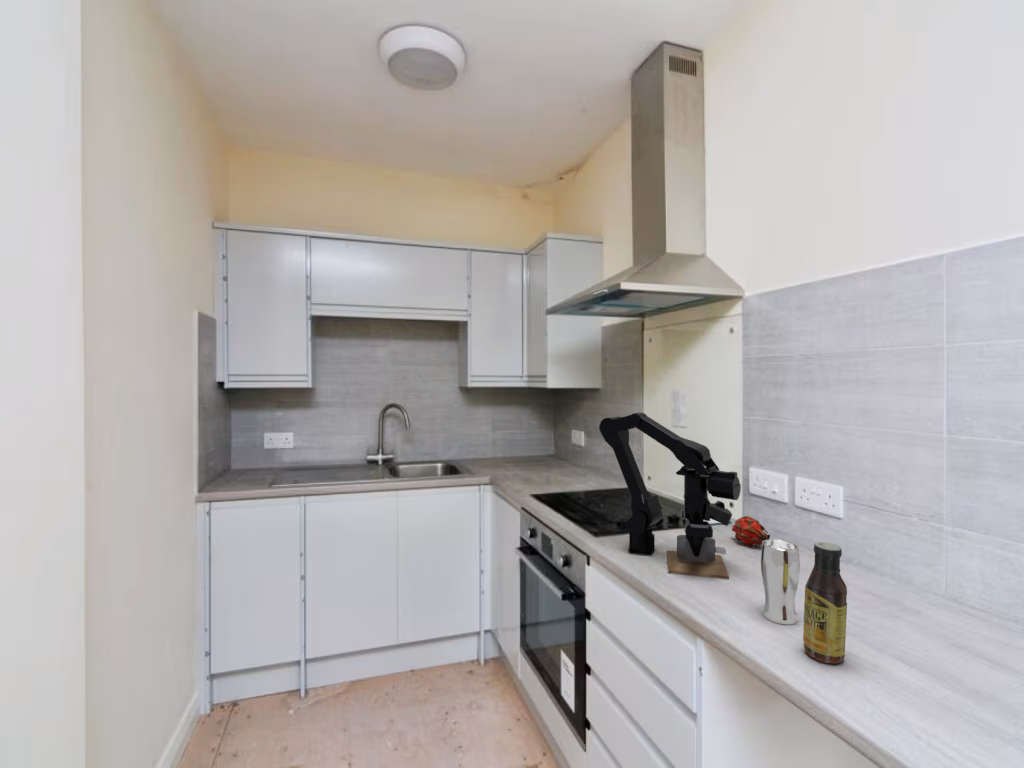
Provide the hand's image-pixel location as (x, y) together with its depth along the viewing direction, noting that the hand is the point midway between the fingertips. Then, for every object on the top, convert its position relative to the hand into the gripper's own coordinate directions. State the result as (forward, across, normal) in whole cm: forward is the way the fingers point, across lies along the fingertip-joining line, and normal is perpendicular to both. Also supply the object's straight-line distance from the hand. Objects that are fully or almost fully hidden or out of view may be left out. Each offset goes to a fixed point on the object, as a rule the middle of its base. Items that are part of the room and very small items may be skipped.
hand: (695, 553), depth 125 cm
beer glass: (+3, -24, -14) cm, 28 cm away
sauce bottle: (+3, -37, -18) cm, 41 cm away
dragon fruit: (+4, +21, -17) cm, 27 cm away
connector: (+1, 0, -1) cm, 2 cm away
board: (+3, 0, 0) cm, 3 cm away
